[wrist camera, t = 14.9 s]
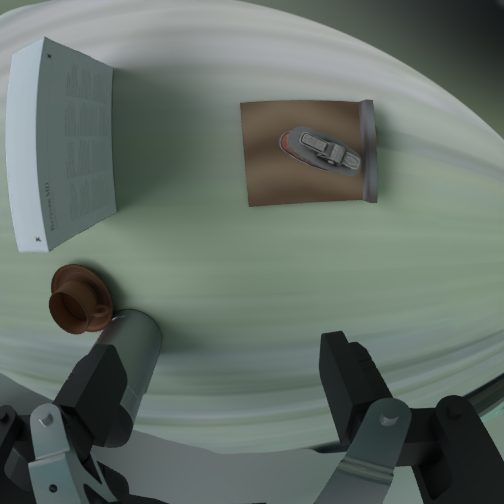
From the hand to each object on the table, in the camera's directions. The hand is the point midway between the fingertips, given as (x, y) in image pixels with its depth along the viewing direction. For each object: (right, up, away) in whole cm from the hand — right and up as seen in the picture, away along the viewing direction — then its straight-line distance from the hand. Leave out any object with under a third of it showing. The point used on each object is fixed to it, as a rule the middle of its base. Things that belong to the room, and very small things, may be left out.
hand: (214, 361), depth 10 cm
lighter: (+8, +16, +23) cm, 30 cm away
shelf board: (+8, +17, +24) cm, 31 cm away
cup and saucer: (-26, -3, +30) cm, 40 cm away
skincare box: (-20, +19, +23) cm, 36 cm away
